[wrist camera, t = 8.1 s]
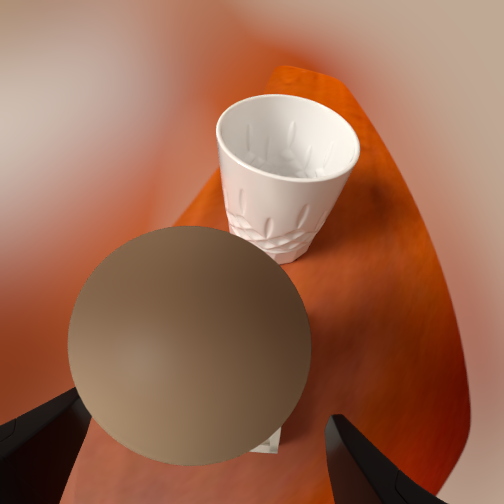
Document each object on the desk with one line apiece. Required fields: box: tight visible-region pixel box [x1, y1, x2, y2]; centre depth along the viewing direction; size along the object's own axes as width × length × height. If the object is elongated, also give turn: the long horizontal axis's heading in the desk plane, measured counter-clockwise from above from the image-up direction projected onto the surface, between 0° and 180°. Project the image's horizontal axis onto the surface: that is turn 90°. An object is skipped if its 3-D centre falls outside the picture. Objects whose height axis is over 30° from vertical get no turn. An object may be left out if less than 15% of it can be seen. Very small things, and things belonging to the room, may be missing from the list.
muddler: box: [68, 226, 312, 466], centre depth 10 cm, size 5×5×13 cm
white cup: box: [216, 94, 360, 265], centre depth 18 cm, size 8×8×10 cm
